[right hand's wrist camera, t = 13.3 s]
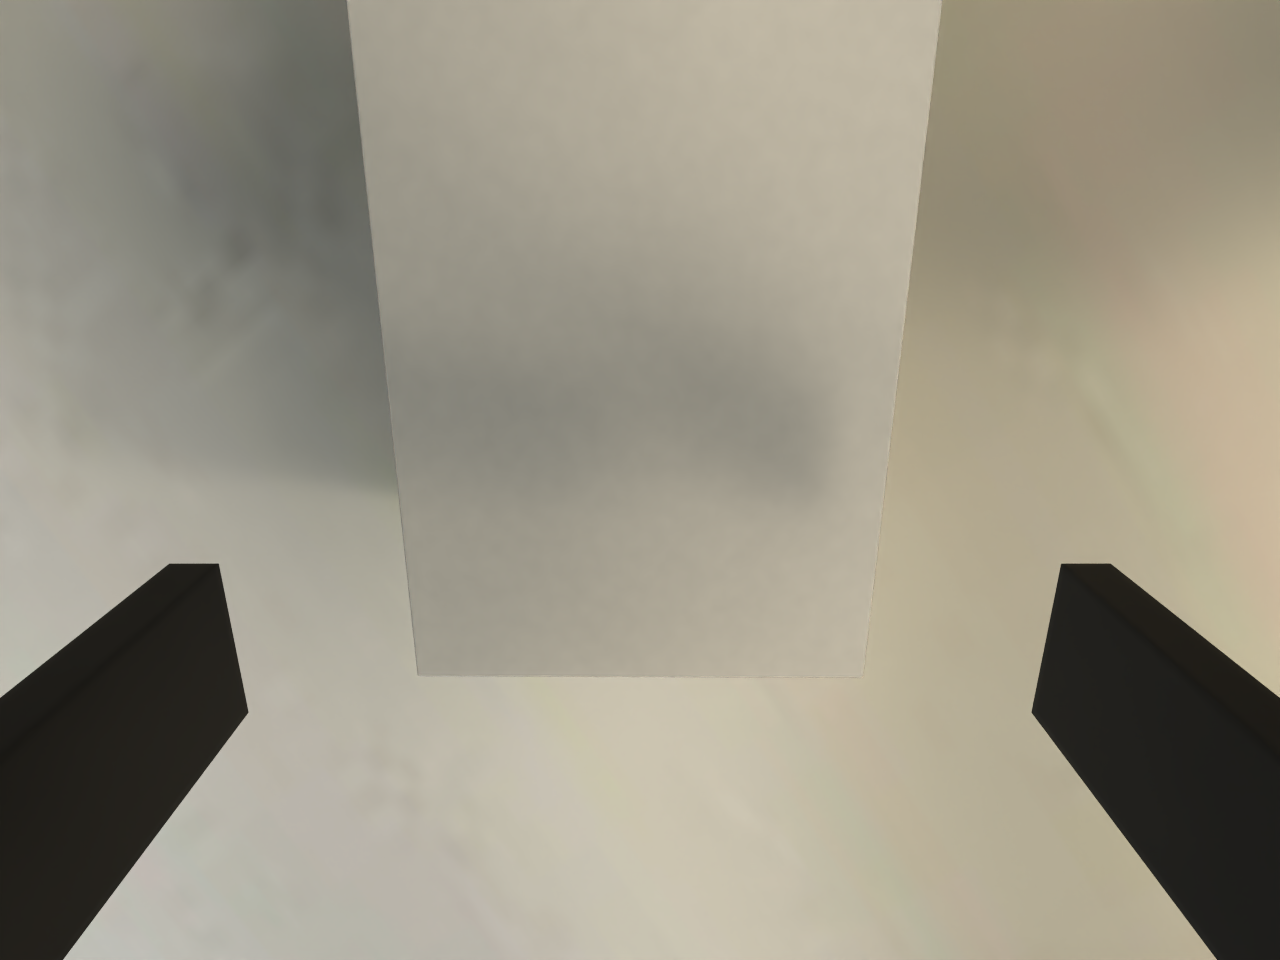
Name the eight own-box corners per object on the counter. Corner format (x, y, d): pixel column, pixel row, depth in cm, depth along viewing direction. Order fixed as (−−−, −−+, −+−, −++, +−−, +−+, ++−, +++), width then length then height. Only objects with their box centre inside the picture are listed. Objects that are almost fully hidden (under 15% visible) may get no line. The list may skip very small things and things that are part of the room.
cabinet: (445, -231, 22) (282, -583, 12) (842, -228, 22) (1011, -579, 12) (492, 512, 29) (416, 676, 19) (787, 513, 29) (863, 679, 19)
